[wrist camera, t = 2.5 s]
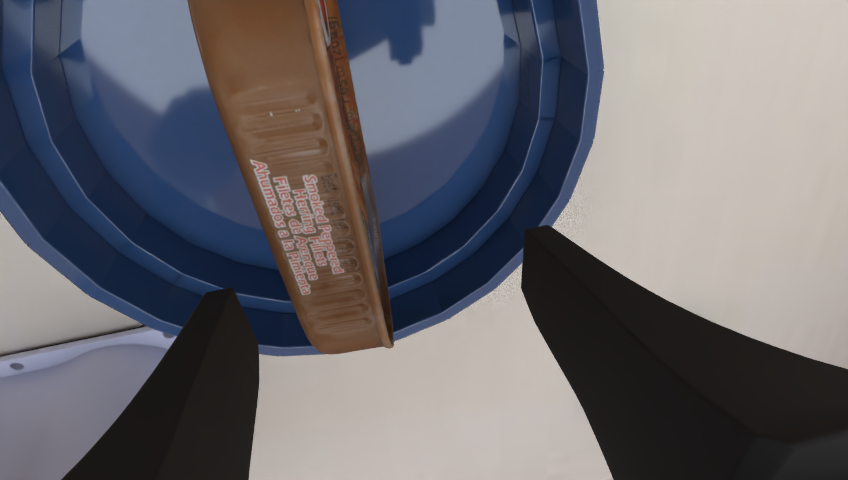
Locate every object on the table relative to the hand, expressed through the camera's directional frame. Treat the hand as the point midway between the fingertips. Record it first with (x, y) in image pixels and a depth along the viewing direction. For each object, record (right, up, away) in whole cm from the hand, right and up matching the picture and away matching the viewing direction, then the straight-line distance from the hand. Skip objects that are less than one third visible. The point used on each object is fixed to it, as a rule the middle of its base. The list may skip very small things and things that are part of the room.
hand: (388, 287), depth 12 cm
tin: (-3, +6, +7) cm, 10 cm away
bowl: (-3, +7, +7) cm, 10 cm away
